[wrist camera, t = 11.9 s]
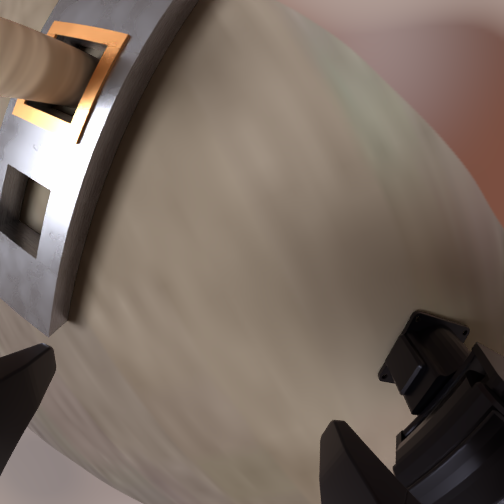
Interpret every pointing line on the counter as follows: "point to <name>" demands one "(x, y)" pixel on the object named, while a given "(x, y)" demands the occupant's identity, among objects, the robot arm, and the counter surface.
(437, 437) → the robot arm
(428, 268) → the counter surface
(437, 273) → the counter surface
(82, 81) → the peg
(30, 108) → the silver slotted plate
